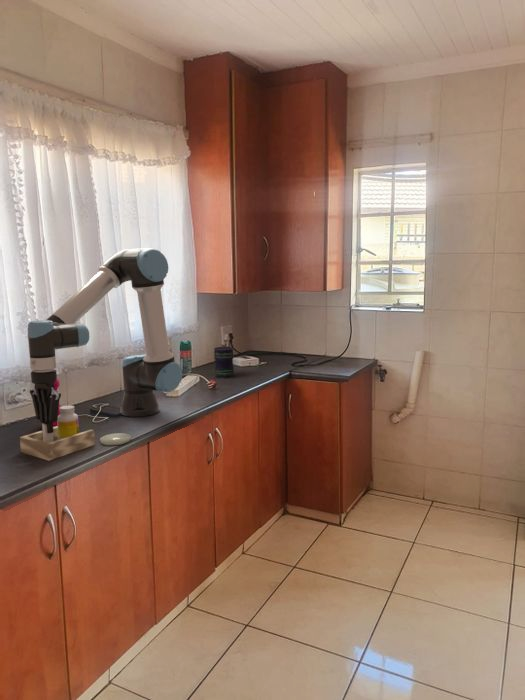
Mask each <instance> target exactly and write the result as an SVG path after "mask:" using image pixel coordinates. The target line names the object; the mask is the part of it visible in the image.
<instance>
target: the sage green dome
mask: <svg viewBox="0 0 525 700" xmlns="http://www.w3.org/2000/svg"><path fill="white" fill-rule="evenodd" d="M131 440H132V437H131V435H130V434H128V433H123V432H120V433H119V432H117V433H115V432H114V433H108V434H105V435H103V436H101V437H100V439H99V441H100V442H99V443H100V444H101V445H102V446H103V445H104V446H120V445H125V444H127V443H129V442H131Z"/></svg>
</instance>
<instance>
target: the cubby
mask: <svg viewBox="0 0 525 700" xmlns="http://www.w3.org/2000/svg"><path fill="white" fill-rule="evenodd" d="M53 440H54V441H53V442H50V443H48V442H44V441H43V432H42V430H39V431H35V432H32V433H29V434H26V435H25V434H24V435H23V436H19V443H20V444H19V445H20V453H23V454H26V455H28V456H29V455H30V456H33V457H35V458H39V459H43V460H45V461H49V462H50V461H52V460H55V459H58V458H61V457H64V456H67V455H69V454H72V453H74V452H75V453H76V452H79V451H81V450H84V449H87V448H89V447H93V446H95V445H96V442H95V441H96V439H95V430H94V429H88V430H85V431H82V432H79V433H78V434H75V435H72V436H69V437H66V438H63V439H60V440H58V426H56V427H53Z"/></svg>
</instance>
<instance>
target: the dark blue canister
mask: <svg viewBox="0 0 525 700" xmlns="http://www.w3.org/2000/svg"><path fill="white" fill-rule="evenodd" d="M213 350H214V352H213V355H214V356H213V357H214V374H215V375H214V378H216V379H223V380H224V379H233V378H234V362H233V361H234V360H233V359H234V348H233V347H232V346H219V347H214V349H213Z"/></svg>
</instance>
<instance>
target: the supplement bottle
mask: <svg viewBox="0 0 525 700" xmlns="http://www.w3.org/2000/svg"><path fill="white" fill-rule="evenodd" d="M59 411H60V415H59V416H58V419H57V426H58V440H60V439H63V438H66V437H69V436H72V435H75V434H78V433H80V425H79V416H78V414H77V413H75V406H74V405H63V406H61V407H60V408H59Z"/></svg>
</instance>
